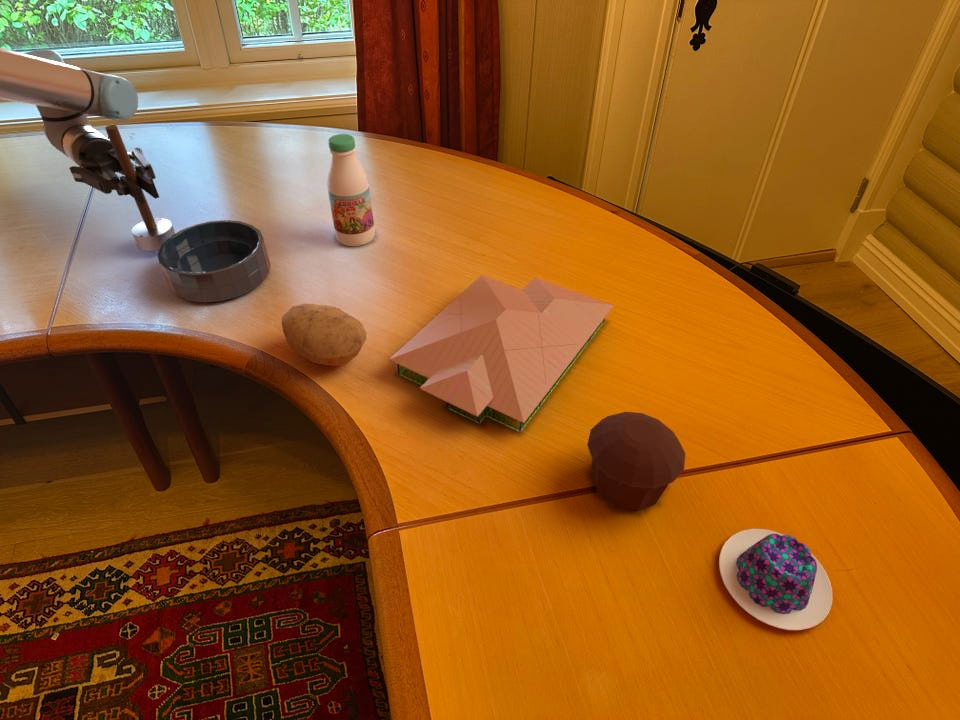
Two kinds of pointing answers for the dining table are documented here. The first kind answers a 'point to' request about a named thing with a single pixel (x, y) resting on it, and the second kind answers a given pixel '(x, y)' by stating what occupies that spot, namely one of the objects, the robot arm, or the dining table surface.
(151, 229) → the brown rod with cylinder
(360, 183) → the milk bottle
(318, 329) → the potato
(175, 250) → the bowl
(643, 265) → the dining table surface
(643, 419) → the muffin
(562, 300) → the house
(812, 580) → the pudding
